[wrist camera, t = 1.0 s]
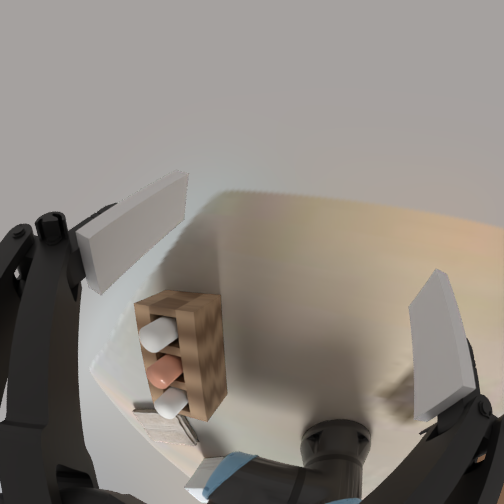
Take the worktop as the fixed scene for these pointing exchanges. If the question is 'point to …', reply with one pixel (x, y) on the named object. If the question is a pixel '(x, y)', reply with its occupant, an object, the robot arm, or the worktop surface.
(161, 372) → the terracotta plug
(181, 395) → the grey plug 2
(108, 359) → the worktop surface
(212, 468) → the supplement box
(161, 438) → the washcloth
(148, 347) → the grey plug
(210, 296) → the walnut socket block
